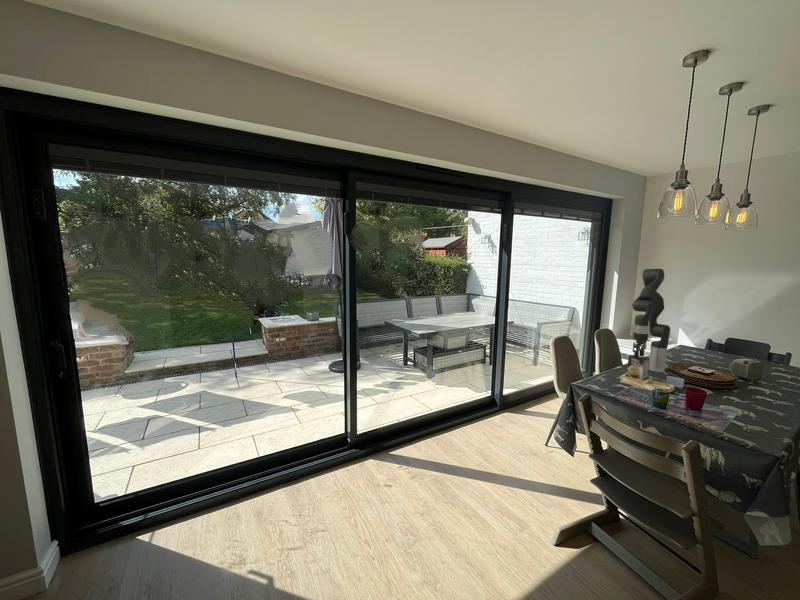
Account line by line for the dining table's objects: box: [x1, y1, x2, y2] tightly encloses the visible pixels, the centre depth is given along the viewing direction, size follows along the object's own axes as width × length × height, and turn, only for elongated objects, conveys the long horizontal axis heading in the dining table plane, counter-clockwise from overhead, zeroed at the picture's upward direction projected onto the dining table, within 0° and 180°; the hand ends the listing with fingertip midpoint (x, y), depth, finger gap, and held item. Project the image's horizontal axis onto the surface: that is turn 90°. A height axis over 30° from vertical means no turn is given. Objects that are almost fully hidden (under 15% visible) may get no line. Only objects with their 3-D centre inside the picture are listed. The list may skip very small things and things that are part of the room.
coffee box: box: [626, 354, 650, 381], centre depth 209 cm, size 9×6×16 cm
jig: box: [619, 372, 676, 393], centre depth 205 cm, size 13×25×4 cm, turn 36°
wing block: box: [665, 375, 685, 389], centre depth 205 cm, size 4×8×5 cm, turn 39°
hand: (638, 357), depth 208 cm, fingers open, 8 cm apart
